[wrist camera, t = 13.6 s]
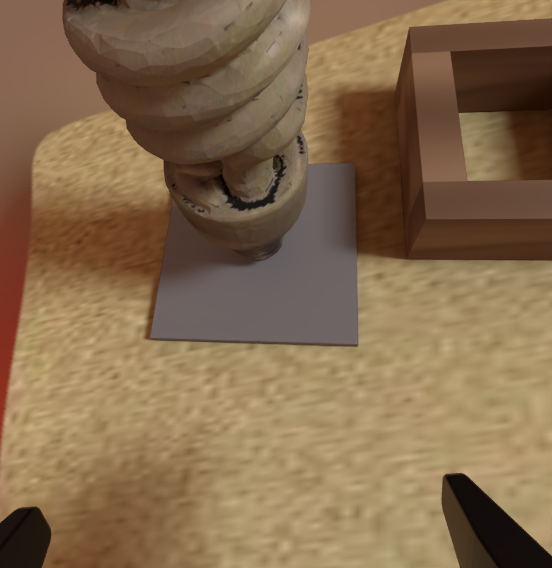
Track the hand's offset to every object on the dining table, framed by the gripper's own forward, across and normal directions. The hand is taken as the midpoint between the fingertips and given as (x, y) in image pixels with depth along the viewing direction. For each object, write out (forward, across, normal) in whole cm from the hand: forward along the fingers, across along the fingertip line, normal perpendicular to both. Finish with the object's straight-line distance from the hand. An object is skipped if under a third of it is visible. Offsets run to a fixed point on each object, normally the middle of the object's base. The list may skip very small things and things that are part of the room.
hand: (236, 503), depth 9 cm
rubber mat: (+14, 0, -1) cm, 14 cm away
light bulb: (+14, 0, -1) cm, 14 cm away
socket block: (+16, -14, -3) cm, 21 cm away
